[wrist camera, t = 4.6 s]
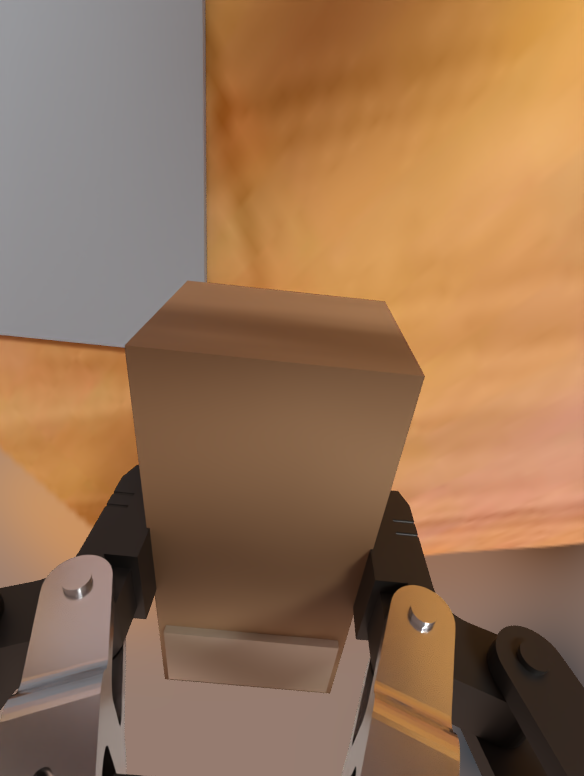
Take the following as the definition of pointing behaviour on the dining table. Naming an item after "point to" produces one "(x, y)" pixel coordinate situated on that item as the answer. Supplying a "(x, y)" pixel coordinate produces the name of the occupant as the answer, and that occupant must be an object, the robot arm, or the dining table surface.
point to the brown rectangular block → (265, 473)
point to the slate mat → (100, 164)
